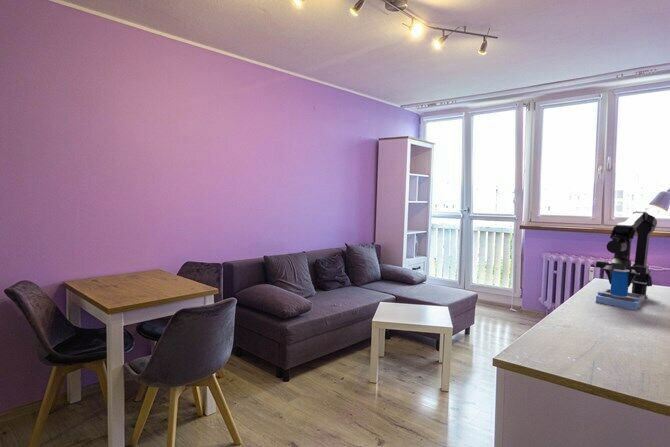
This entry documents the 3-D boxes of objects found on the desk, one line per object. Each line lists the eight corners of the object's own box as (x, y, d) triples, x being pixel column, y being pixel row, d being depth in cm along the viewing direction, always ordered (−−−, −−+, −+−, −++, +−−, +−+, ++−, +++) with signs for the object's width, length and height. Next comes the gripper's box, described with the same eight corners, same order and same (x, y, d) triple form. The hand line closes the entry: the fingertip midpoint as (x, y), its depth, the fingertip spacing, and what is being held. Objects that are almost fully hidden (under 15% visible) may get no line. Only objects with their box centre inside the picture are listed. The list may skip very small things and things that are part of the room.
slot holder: (605, 294, 194) (606, 286, 193) (644, 301, 183) (645, 293, 182) (595, 302, 179) (595, 293, 179) (636, 310, 168) (637, 301, 168)
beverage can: (621, 294, 180) (623, 269, 179) (630, 298, 173) (633, 272, 172) (606, 293, 181) (609, 268, 179) (615, 297, 174) (617, 271, 173)
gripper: (593, 250, 176) (590, 284, 178) (645, 256, 163) (642, 292, 164) (599, 248, 184) (597, 280, 185) (649, 253, 171) (646, 288, 172)
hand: (619, 285), depth 177 cm, fingers closed on beverage can, 6 cm apart
